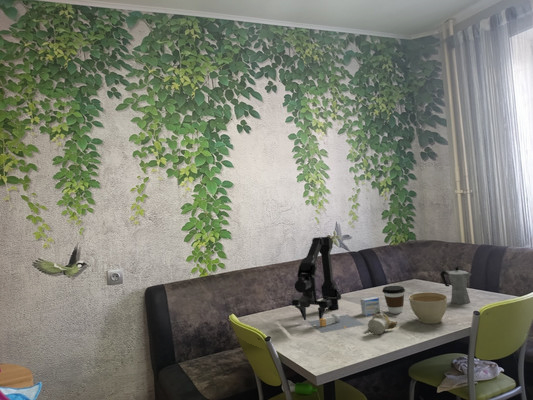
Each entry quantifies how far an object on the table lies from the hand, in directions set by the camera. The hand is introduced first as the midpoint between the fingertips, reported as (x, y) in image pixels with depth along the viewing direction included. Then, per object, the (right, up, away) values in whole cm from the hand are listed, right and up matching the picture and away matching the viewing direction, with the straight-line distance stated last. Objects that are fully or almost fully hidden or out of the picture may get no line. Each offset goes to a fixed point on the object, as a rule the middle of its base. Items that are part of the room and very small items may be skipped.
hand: (312, 320), depth 188 cm
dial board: (+11, -2, -2) cm, 11 cm away
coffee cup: (+43, +1, +9) cm, 44 cm away
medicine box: (+30, 0, +7) cm, 31 cm away
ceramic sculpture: (+28, 0, -14) cm, 32 cm away
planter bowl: (+52, +2, -9) cm, 53 cm away
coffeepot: (+77, +5, +16) cm, 79 cm away
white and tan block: (+8, -1, -2) cm, 8 cm away
